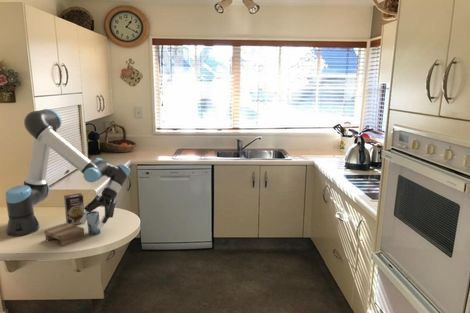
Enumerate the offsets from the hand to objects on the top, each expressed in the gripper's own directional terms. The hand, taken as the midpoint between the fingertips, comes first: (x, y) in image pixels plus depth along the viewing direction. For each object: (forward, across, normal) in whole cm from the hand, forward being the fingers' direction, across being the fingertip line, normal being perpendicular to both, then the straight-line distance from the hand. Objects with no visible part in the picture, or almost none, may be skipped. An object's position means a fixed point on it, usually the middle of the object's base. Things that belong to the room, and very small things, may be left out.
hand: (90, 225), depth 184 cm
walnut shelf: (+10, +7, +3) cm, 13 cm away
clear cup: (+2, 0, -5) cm, 5 cm away
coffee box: (-1, +21, -8) cm, 23 cm away
